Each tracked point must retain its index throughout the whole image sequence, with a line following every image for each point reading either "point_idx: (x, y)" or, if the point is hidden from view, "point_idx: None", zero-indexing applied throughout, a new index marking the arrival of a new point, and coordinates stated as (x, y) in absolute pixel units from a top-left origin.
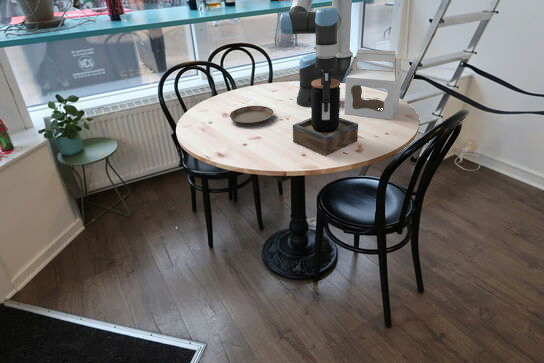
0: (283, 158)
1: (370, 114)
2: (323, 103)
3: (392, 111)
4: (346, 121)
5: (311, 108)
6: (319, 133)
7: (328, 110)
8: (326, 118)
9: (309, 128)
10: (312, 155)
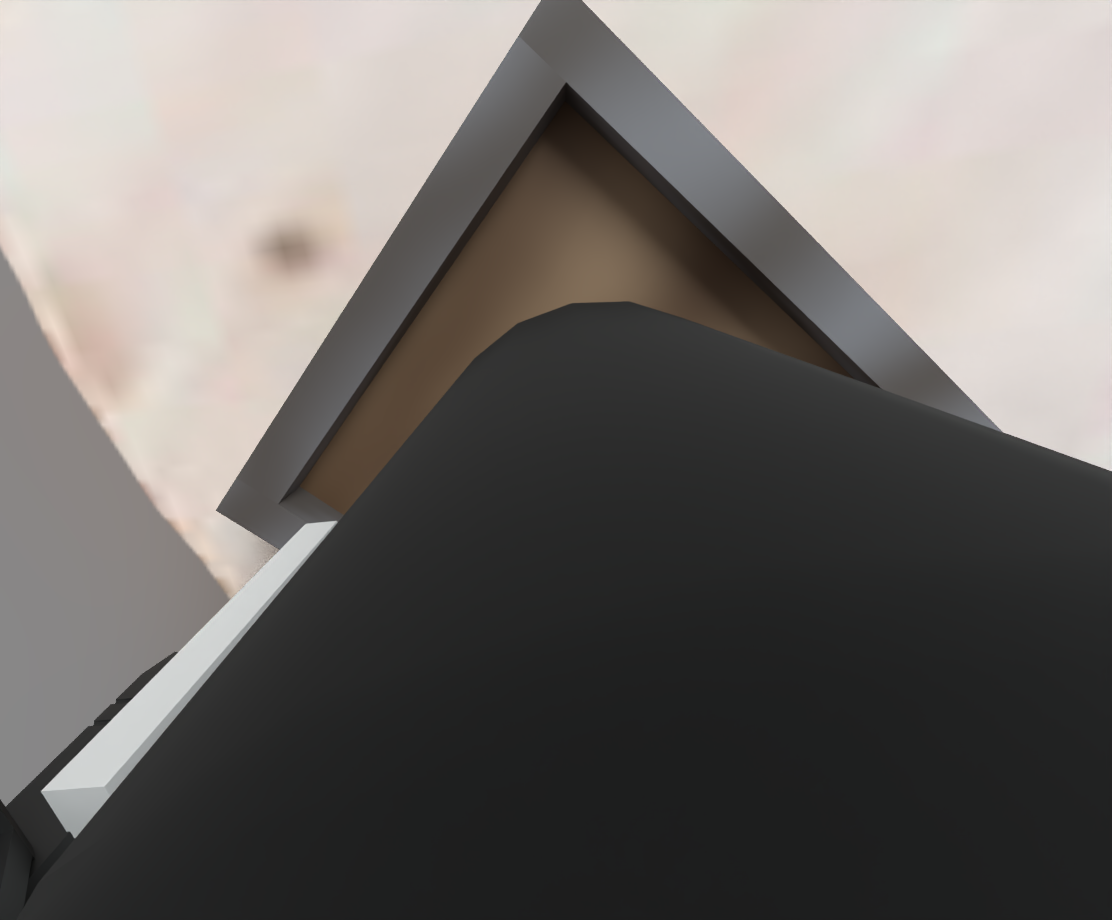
0: (164, 37)
1: None
2: (76, 800)
3: None
4: None
5: (586, 330)
6: (313, 432)
7: None
8: None
9: (569, 273)
10: (305, 331)
